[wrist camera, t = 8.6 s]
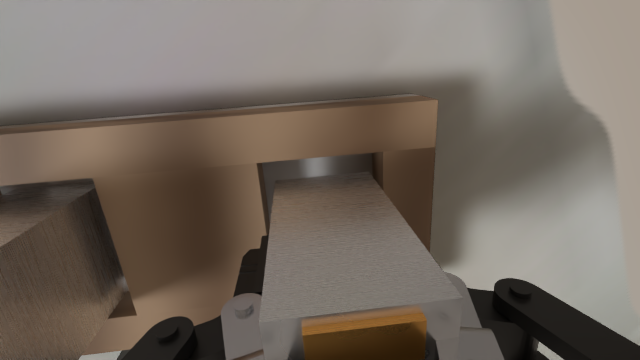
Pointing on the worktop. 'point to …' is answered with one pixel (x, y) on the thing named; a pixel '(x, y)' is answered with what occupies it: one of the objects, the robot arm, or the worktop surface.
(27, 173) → the pallet
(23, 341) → the block
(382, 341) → the block
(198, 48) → the worktop surface
